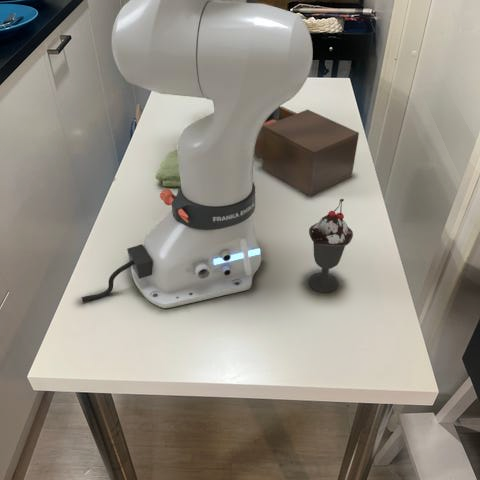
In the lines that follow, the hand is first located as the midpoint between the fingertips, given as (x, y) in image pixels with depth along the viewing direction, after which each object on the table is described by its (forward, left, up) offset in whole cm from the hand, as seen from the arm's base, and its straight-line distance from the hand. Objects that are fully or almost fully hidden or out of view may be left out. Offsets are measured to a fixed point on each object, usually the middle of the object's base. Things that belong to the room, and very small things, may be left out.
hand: (229, 86), depth 115 cm
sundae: (-14, -58, -11) cm, 60 cm away
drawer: (+2, -15, -9) cm, 18 cm away
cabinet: (+4, -27, -10) cm, 29 cm away
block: (+2, -15, -8) cm, 18 cm away
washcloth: (-16, -16, -11) cm, 24 cm away
